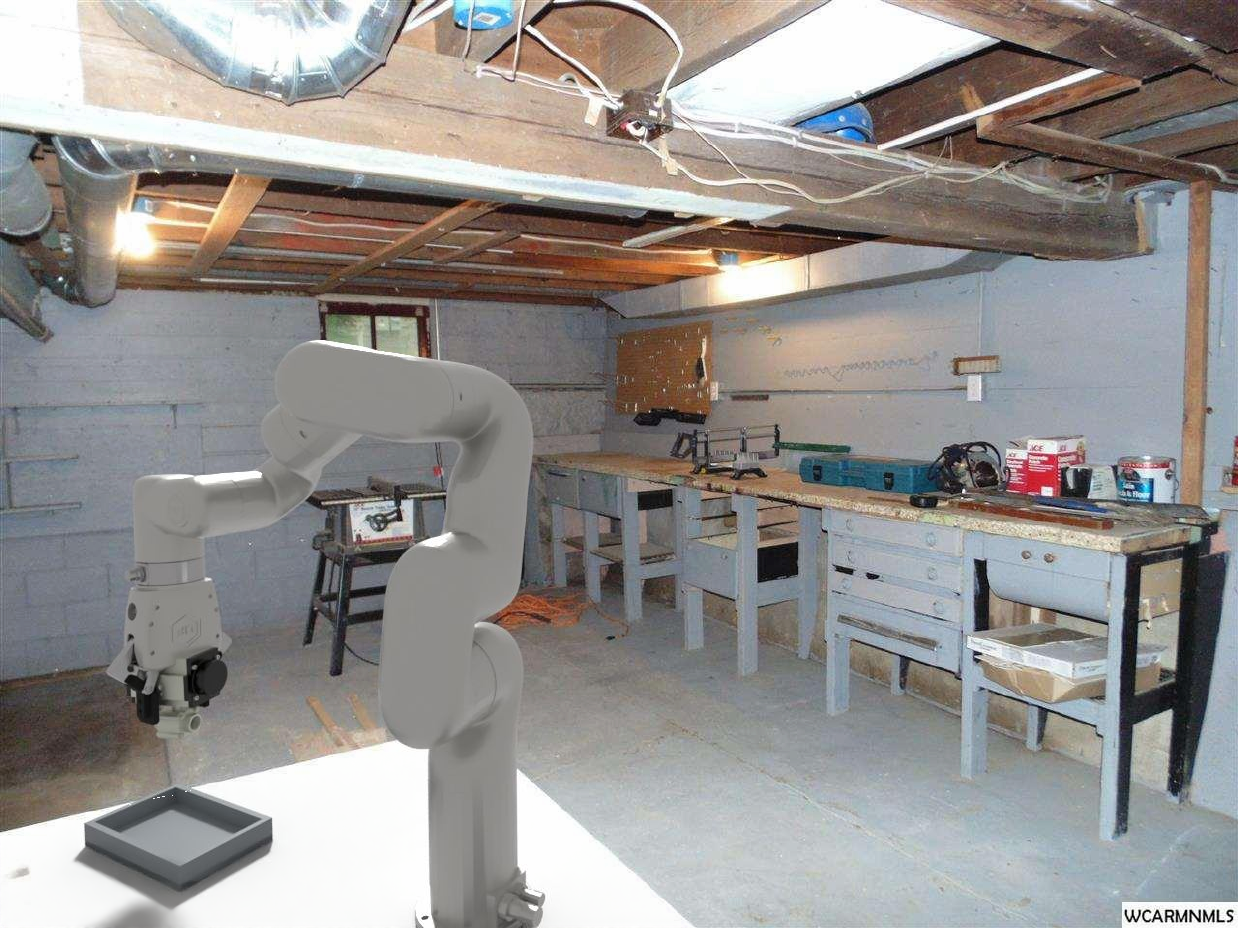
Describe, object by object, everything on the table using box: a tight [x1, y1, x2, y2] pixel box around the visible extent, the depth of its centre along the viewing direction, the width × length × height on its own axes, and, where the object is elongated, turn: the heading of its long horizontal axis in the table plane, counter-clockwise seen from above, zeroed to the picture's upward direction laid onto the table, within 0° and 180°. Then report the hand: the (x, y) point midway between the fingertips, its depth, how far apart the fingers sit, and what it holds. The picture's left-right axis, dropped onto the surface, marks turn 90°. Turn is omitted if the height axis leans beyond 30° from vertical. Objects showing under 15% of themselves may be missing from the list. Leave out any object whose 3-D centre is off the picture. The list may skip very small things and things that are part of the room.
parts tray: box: [83, 783, 274, 893], centre depth 95 cm, size 20×12×3 cm, turn 62°
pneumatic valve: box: [124, 647, 229, 741], centre depth 94 cm, size 6×12×12 cm, turn 79°
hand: (175, 712), depth 94 cm, fingers closed on pneumatic valve, 5 cm apart
